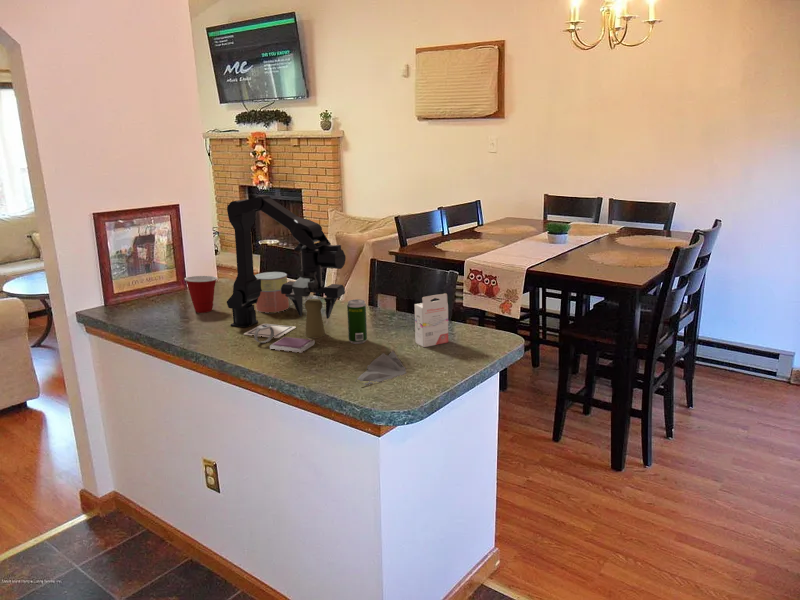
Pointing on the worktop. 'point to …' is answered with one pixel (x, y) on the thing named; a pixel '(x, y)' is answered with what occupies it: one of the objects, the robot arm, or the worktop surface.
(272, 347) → the ink pad
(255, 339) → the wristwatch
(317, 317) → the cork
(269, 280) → the canned food
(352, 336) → the green drink can
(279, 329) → the marked card
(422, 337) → the ink cartridge box
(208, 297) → the plastic cup
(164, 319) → the worktop surface
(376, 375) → the cloth
